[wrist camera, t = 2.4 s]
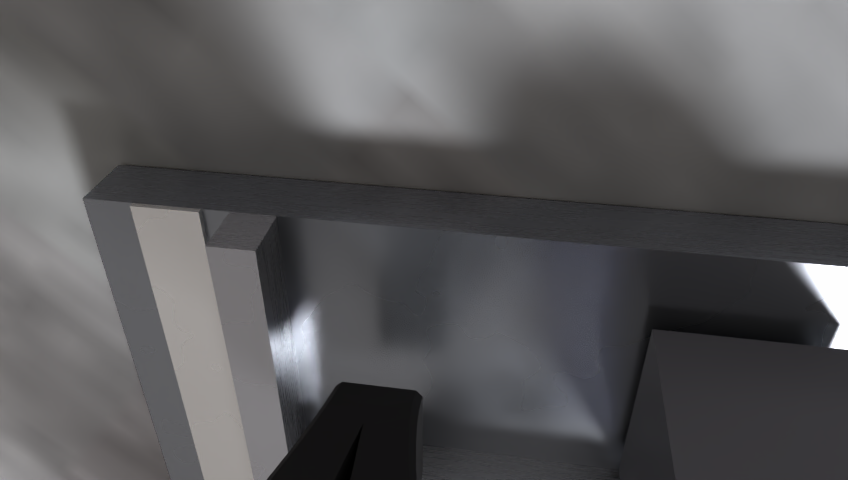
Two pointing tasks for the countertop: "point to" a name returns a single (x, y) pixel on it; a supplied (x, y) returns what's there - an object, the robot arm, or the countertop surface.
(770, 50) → the countertop surface
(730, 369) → the block
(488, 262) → the panel
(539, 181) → the countertop surface
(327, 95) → the countertop surface
